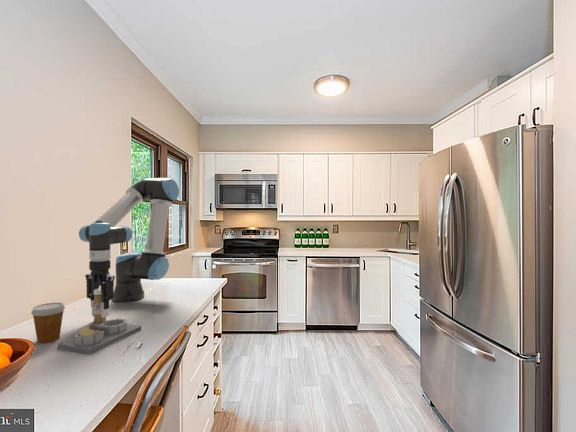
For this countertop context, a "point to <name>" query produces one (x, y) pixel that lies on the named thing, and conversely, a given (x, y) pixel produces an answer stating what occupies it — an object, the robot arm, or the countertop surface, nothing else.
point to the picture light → (130, 344)
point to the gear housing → (99, 336)
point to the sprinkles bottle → (98, 306)
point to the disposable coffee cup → (48, 321)
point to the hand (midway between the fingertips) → (100, 315)
